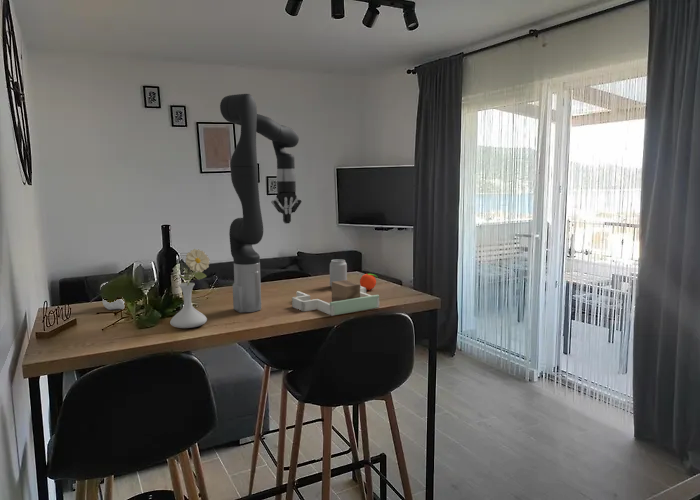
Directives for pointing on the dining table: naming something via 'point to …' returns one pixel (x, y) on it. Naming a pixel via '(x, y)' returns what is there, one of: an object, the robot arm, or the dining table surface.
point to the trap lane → (336, 303)
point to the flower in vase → (188, 313)
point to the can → (338, 270)
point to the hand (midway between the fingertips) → (287, 223)
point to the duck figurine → (113, 303)
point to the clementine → (368, 281)
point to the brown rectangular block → (345, 290)
